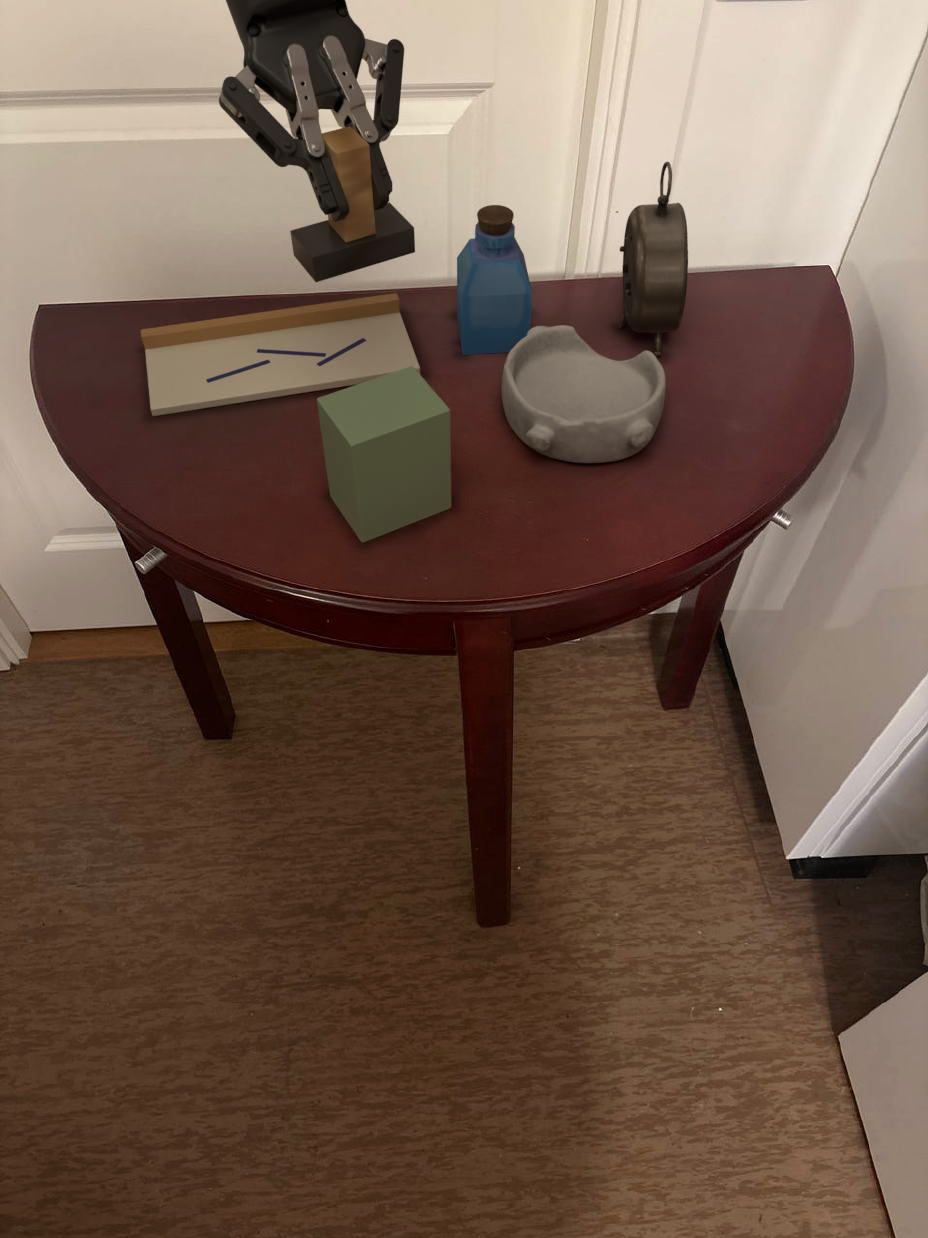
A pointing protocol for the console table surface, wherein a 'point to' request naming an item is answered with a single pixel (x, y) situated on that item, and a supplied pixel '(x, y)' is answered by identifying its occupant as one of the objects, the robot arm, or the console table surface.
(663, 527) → the console table surface
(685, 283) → the alarm clock
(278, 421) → the console table surface
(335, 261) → the eraser
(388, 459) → the block
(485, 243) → the perfume bottle
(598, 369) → the dish
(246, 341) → the board
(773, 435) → the console table surface
